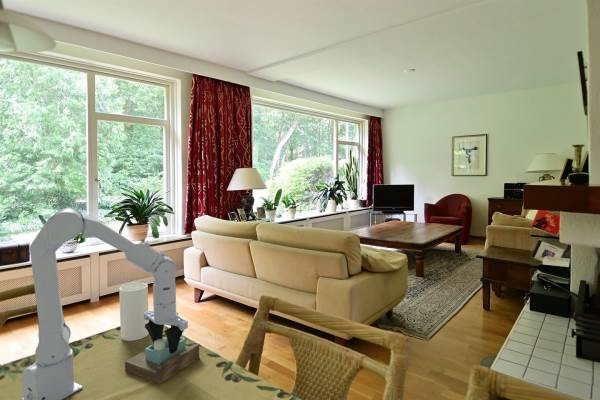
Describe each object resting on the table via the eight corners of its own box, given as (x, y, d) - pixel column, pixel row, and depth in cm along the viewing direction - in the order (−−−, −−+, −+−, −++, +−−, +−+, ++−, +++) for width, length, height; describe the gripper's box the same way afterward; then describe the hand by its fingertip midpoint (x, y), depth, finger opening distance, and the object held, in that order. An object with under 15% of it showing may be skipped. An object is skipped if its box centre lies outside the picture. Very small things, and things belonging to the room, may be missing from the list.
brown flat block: (160, 383, 89) (159, 368, 89) (125, 370, 95) (124, 355, 95) (199, 357, 102) (199, 344, 101) (166, 347, 108) (166, 334, 107)
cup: (153, 329, 119) (152, 283, 117) (140, 341, 111) (138, 291, 109) (130, 328, 120) (128, 281, 118) (115, 340, 111) (113, 290, 110)
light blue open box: (160, 366, 93) (159, 347, 92) (145, 361, 95) (145, 343, 95) (185, 350, 101) (185, 333, 100) (171, 346, 103) (171, 329, 103)
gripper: (195, 301, 97) (196, 349, 98) (157, 292, 103) (158, 337, 104) (175, 310, 90) (176, 361, 92) (136, 300, 97) (138, 348, 98)
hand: (165, 349), depth 98 cm, fingers closed on light blue open box, 5 cm apart
